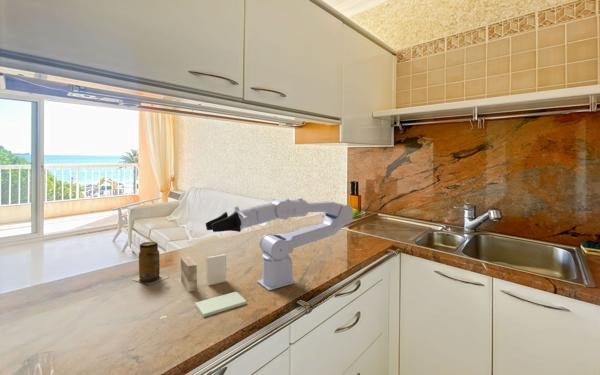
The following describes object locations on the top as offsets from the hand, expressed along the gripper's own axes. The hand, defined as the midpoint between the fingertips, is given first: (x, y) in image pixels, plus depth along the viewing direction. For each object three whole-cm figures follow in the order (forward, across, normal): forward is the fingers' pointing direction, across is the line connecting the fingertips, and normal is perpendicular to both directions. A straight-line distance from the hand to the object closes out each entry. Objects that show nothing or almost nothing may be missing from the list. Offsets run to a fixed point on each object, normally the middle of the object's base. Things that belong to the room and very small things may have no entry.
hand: (209, 227), depth 79 cm
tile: (-1, -13, +20) cm, 24 cm away
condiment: (+17, -26, +15) cm, 34 cm away
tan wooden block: (+7, -15, +18) cm, 25 cm away
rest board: (+2, +2, +22) cm, 22 cm away
